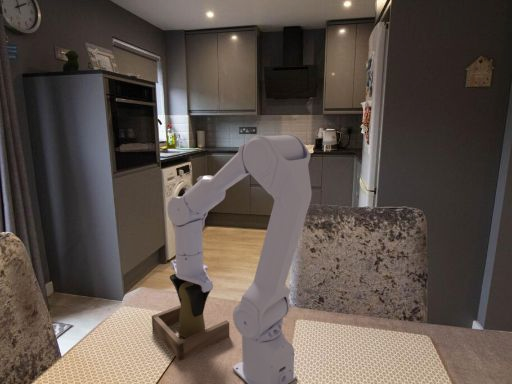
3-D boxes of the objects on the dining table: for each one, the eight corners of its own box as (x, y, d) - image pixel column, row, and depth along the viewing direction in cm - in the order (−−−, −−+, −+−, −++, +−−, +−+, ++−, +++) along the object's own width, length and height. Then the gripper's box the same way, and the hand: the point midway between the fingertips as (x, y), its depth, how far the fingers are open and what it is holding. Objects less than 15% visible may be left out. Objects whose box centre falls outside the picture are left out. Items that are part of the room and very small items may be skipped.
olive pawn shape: (207, 322, 78) (207, 278, 75) (201, 338, 72) (201, 291, 69) (182, 320, 78) (181, 276, 76) (173, 336, 72) (172, 289, 70)
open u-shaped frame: (229, 336, 74) (229, 322, 73) (179, 360, 66) (178, 344, 65) (199, 311, 83) (198, 298, 83) (152, 329, 76) (151, 315, 75)
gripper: (224, 256, 68) (225, 317, 71) (189, 238, 79) (191, 291, 82) (193, 265, 64) (196, 329, 66) (161, 244, 75) (164, 300, 77)
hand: (191, 309), depth 74 cm, fingers closed on olive pawn shape, 5 cm apart
